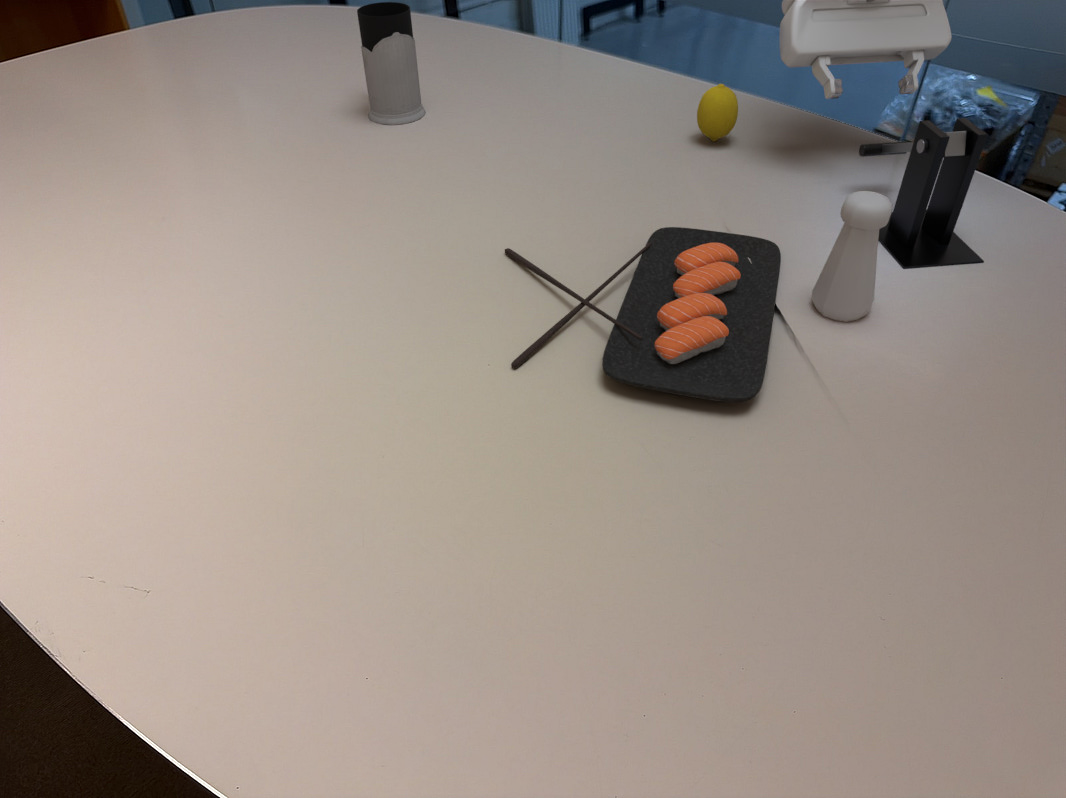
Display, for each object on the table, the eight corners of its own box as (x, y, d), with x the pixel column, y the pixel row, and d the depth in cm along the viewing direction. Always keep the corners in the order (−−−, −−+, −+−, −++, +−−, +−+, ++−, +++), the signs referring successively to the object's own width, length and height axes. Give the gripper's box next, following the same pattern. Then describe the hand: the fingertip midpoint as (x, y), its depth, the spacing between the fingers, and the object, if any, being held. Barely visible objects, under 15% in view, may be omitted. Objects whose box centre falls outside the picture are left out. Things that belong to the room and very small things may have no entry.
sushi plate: (757, 422, 70) (764, 387, 67) (433, 363, 77) (429, 330, 74) (780, 254, 91) (787, 224, 88) (525, 221, 98) (524, 191, 95)
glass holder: (381, 129, 120) (365, 21, 110) (347, 99, 130) (330, -2, 120) (434, 117, 123) (424, 11, 114) (398, 89, 133) (386, -11, 123)
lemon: (741, 142, 114) (750, 85, 109) (713, 152, 112) (720, 94, 107) (714, 130, 118) (721, 74, 113) (685, 139, 115) (692, 82, 110)
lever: (857, 161, 97) (858, 140, 97) (901, 158, 98) (903, 137, 97) (929, 157, 83) (930, 133, 82) (980, 154, 83) (982, 129, 82)
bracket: (854, 224, 96) (885, 108, 87) (926, 218, 97) (964, 103, 88) (900, 277, 87) (940, 154, 78) (980, 271, 87) (1029, 148, 79)
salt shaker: (802, 300, 84) (829, 182, 75) (858, 300, 84) (892, 182, 75) (815, 333, 79) (846, 212, 71) (874, 333, 79) (912, 212, 71)
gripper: (925, -4, 103) (939, 101, 102) (768, 4, 102) (781, 110, 100) (954, -35, 97) (969, 77, 96) (787, -27, 95) (801, 87, 94)
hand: (871, 94), depth 98 cm, fingers open, 8 cm apart
